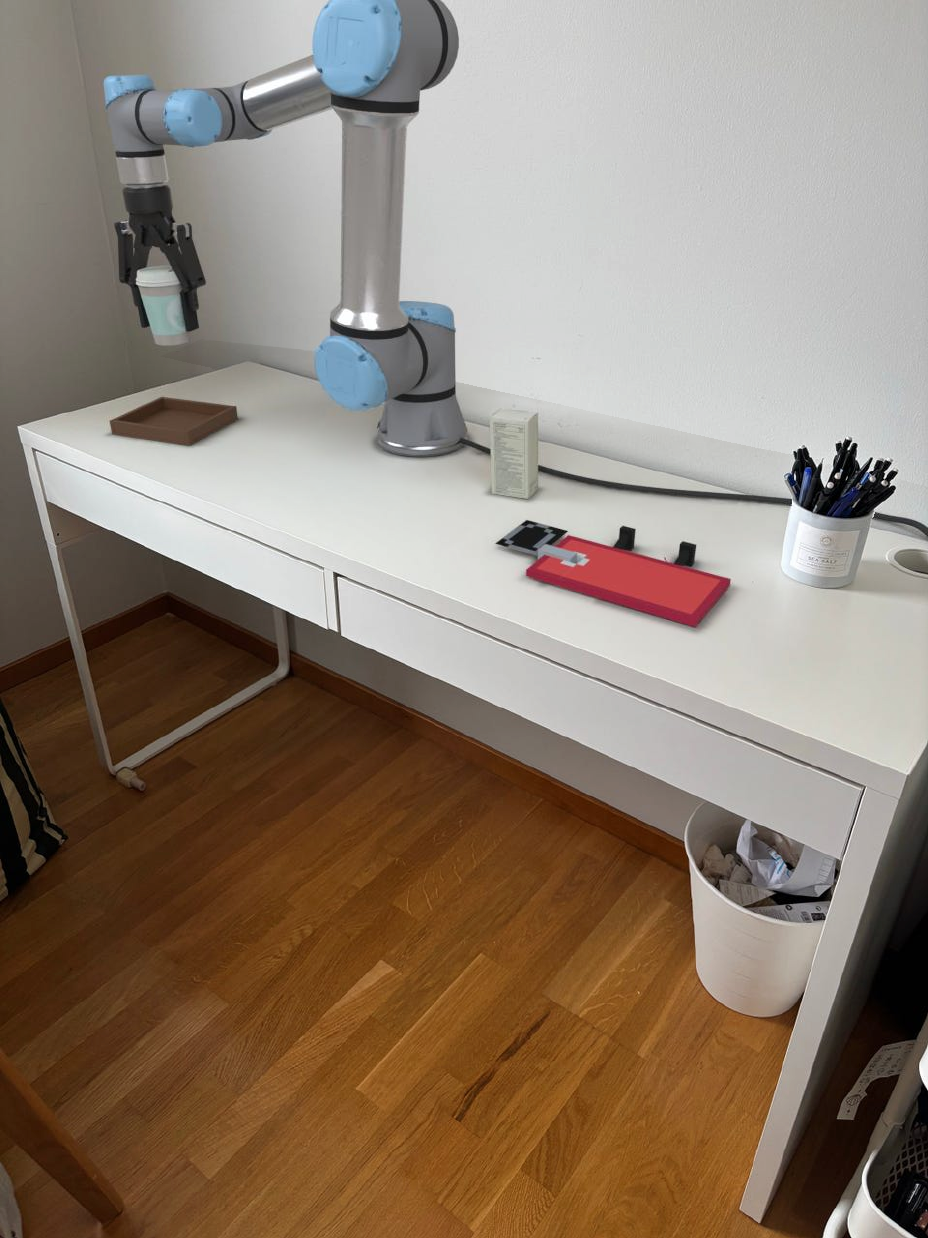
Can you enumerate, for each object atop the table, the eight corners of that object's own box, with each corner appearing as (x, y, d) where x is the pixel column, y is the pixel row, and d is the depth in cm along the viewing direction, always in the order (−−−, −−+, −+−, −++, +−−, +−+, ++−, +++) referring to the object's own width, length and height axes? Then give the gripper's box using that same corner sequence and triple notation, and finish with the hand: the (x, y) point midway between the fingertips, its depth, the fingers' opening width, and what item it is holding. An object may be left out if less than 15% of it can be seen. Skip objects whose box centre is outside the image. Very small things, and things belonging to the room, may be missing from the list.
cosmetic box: (538, 489, 145) (540, 411, 139) (527, 500, 142) (529, 421, 135) (500, 483, 147) (500, 406, 141) (489, 493, 144) (488, 415, 138)
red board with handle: (533, 520, 135) (475, 564, 124) (533, 502, 133) (475, 545, 123) (739, 576, 121) (694, 630, 110) (742, 556, 119) (697, 609, 109)
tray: (238, 419, 175) (236, 406, 174) (189, 445, 164) (187, 431, 162) (164, 409, 181) (161, 396, 179) (112, 434, 169) (109, 420, 168)
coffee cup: (171, 350, 161) (158, 276, 155) (136, 344, 165) (122, 271, 159) (208, 338, 168) (196, 266, 162) (173, 333, 172) (161, 262, 165)
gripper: (214, 183, 153) (234, 327, 165) (107, 180, 160) (133, 318, 172) (186, 189, 147) (209, 337, 159) (76, 186, 154) (106, 328, 166)
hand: (170, 327), depth 165 cm, fingers closed on coffee cup, 9 cm apart
